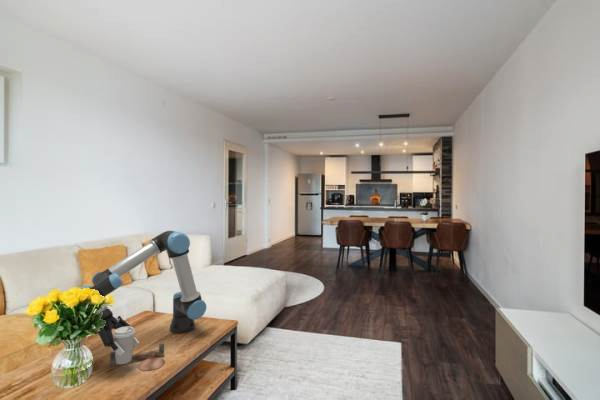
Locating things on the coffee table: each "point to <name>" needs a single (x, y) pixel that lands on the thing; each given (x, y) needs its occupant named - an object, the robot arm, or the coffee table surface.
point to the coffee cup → (124, 343)
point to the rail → (149, 359)
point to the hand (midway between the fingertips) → (129, 349)
